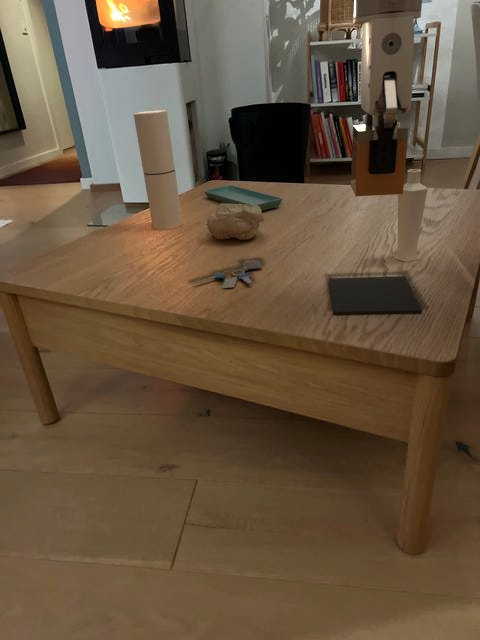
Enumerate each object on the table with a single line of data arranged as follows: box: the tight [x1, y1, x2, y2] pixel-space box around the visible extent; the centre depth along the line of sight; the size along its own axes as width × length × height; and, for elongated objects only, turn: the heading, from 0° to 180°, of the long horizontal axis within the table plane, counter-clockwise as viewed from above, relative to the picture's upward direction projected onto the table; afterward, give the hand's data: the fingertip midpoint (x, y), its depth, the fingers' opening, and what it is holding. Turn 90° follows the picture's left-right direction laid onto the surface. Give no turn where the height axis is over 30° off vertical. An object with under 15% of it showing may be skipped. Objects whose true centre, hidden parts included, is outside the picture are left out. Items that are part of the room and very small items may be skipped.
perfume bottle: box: [394, 168, 429, 263], centre depth 80 cm, size 5×4×15 cm
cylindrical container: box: [133, 109, 183, 231], centre depth 108 cm, size 7×7×25 cm
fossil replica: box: [206, 203, 265, 241], centre depth 99 cm, size 12×8×10 cm
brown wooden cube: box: [350, 122, 409, 197], centre depth 62 cm, size 8×6×6 cm
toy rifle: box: [193, 260, 263, 289], centre depth 81 cm, size 14×8×1 cm, turn 133°
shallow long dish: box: [203, 184, 284, 212], centre depth 127 cm, size 26×9×2 cm, turn 32°
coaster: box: [328, 275, 423, 316], centre depth 71 cm, size 12×12×1 cm
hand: (377, 166), depth 63 cm, fingers closed on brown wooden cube, 6 cm apart
